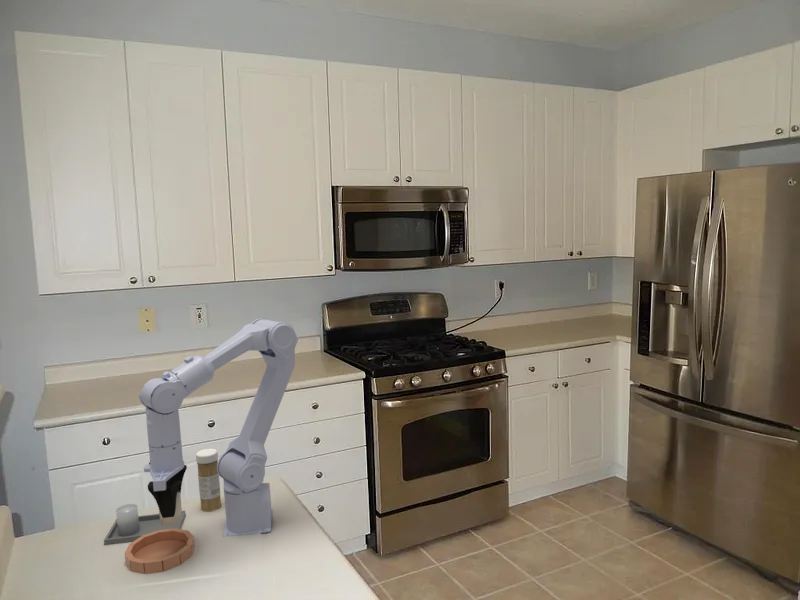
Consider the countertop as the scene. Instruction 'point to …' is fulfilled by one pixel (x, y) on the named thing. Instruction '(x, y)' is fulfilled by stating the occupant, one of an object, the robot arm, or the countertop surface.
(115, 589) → the countertop surface
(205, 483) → the sprinkles bottle
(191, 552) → the bowl
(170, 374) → the robot arm
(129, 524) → the grey rounded cylinder
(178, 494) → the cream rounded cylinder
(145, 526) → the tray
